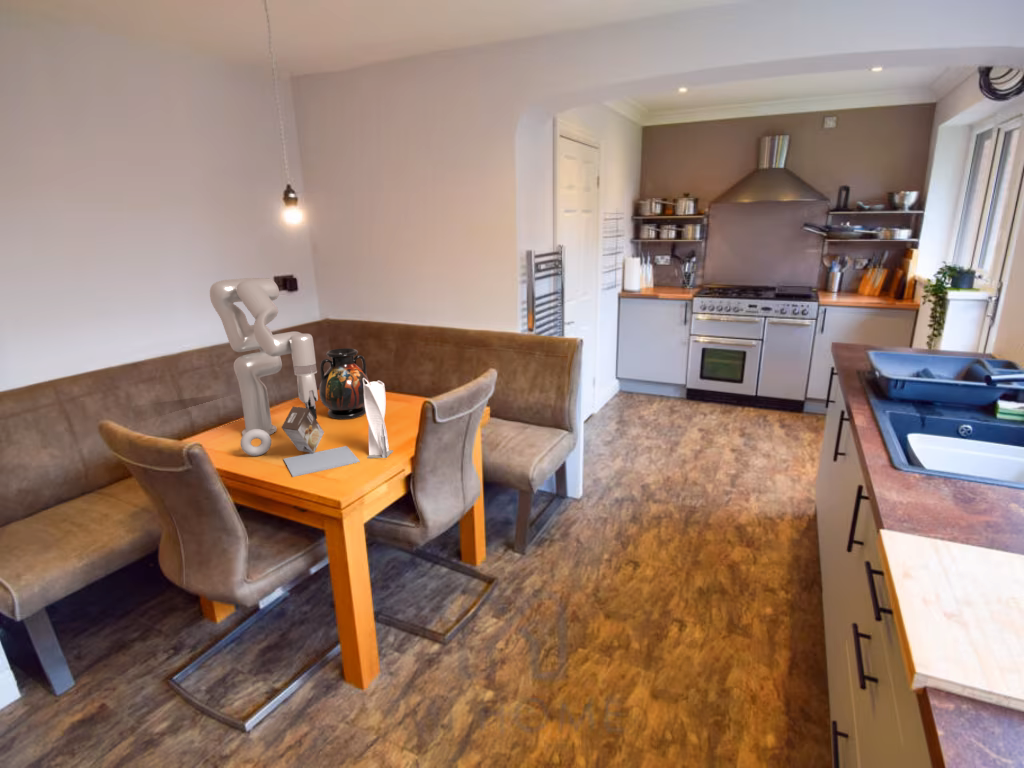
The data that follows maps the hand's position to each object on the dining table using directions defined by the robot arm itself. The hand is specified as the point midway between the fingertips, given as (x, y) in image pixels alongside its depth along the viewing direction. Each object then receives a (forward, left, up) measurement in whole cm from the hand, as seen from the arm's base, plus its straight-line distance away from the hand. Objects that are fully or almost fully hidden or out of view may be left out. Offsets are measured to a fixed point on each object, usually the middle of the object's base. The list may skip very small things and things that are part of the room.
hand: (312, 419), depth 199 cm
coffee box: (0, -1, -9) cm, 9 cm away
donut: (-6, -19, -12) cm, 23 cm away
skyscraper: (+16, +18, -12) cm, 27 cm away
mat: (+11, -1, -12) cm, 17 cm away
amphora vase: (-35, +21, -12) cm, 43 cm away
